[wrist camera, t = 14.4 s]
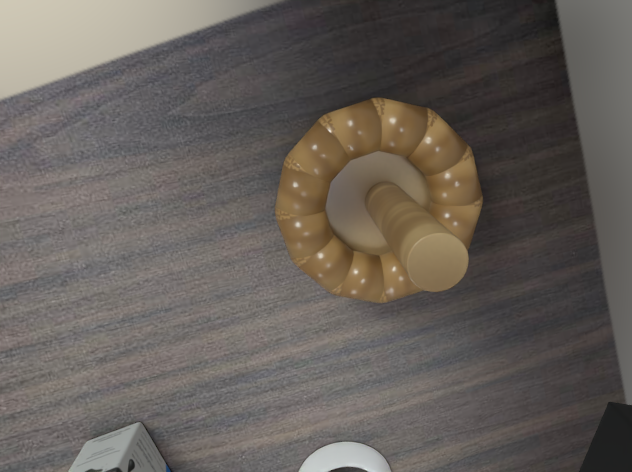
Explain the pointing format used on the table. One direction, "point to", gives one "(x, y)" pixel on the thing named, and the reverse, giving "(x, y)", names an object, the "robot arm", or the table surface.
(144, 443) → the ink box
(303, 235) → the ring
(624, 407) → the robot arm
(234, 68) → the table surface
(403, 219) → the stand
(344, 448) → the white vr controller
